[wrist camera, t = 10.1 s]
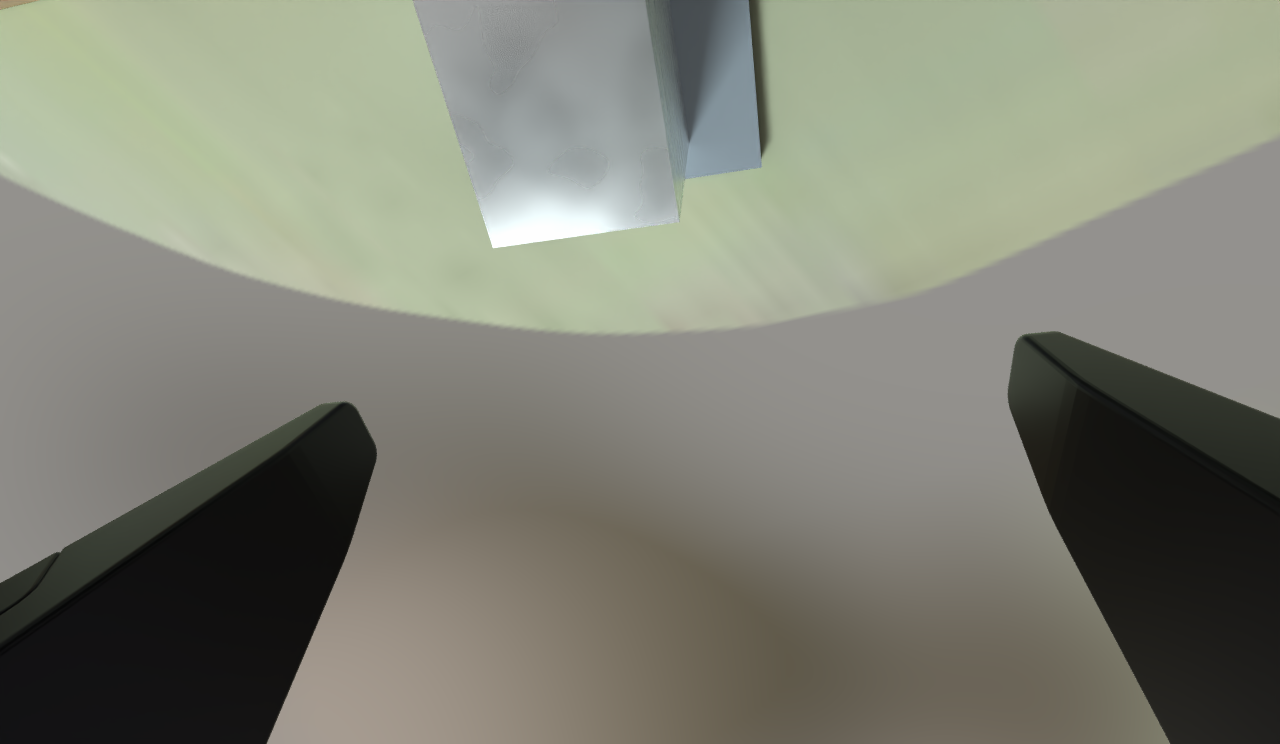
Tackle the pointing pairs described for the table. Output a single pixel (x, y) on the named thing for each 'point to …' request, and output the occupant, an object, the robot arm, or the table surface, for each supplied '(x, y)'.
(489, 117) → the metal block
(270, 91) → the table surface
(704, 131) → the rest mat
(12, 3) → the brown wooden tray
